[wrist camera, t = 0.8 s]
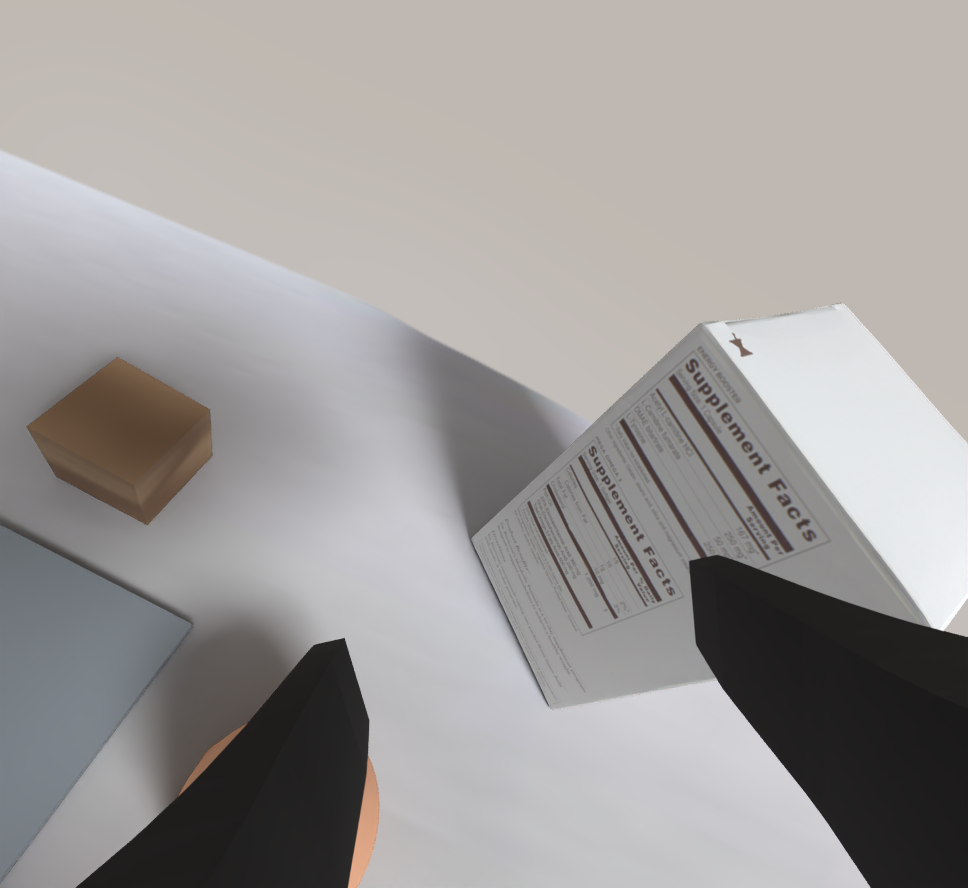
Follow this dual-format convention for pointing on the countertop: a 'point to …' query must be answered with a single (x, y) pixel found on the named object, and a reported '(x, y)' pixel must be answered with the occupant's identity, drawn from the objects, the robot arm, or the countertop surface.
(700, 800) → the countertop surface
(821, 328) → the supplement box
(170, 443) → the walnut block
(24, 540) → the slate mat
